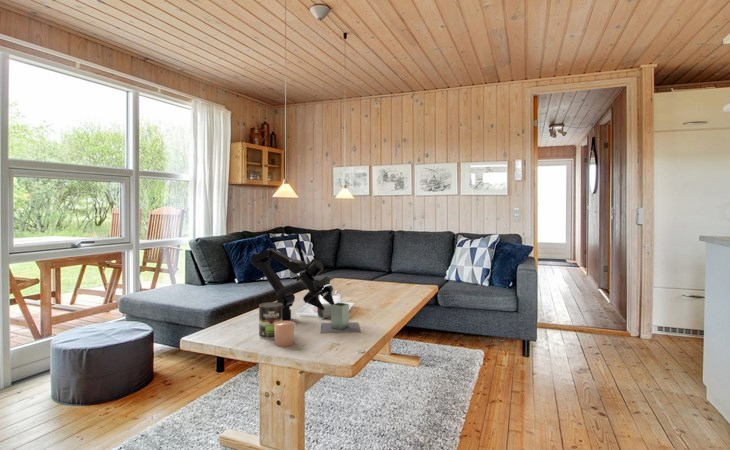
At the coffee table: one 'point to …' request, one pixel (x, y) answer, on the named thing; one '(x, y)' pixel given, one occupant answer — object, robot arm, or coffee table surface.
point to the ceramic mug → (324, 311)
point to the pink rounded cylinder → (284, 333)
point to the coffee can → (269, 318)
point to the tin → (339, 316)
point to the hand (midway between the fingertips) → (329, 307)
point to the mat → (351, 329)
